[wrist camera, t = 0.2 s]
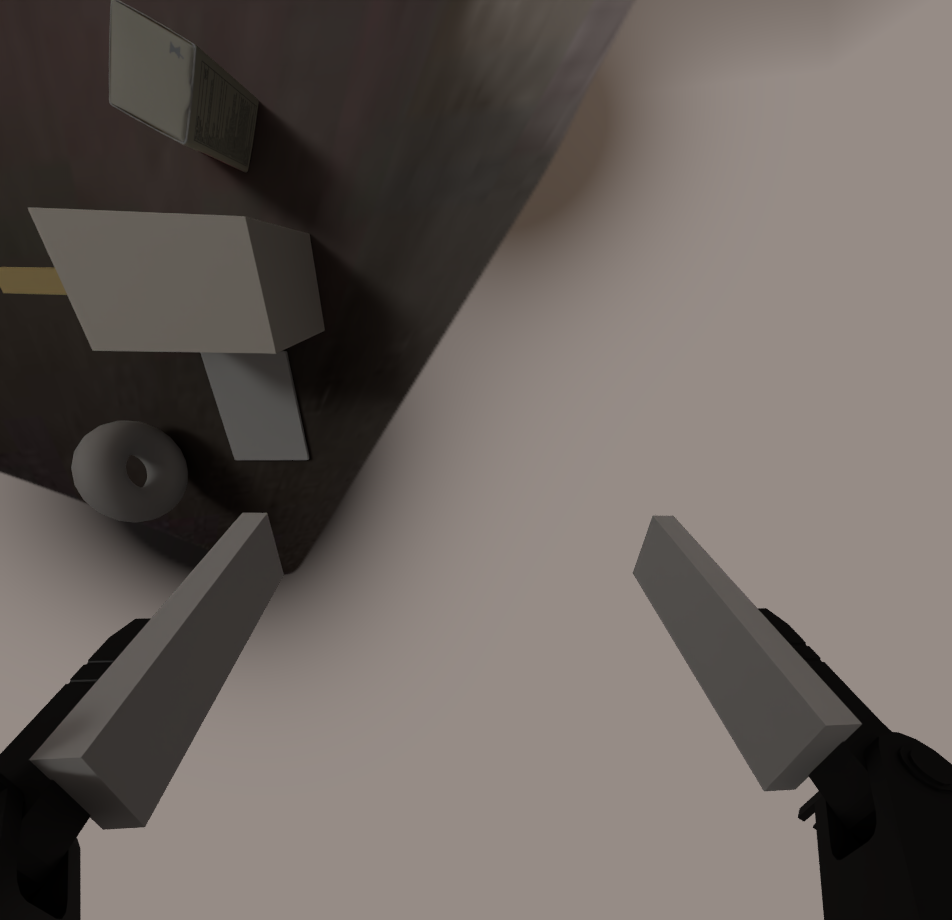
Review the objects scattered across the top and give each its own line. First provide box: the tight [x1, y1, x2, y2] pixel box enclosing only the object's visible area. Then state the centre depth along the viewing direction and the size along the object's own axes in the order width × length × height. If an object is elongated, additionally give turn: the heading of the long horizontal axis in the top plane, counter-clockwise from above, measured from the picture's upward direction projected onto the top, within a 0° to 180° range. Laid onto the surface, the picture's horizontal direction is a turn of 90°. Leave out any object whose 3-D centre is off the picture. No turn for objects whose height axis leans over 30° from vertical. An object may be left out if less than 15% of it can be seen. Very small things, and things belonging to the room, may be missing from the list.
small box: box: [109, 0, 259, 172], centre depth 24 cm, size 5×4×8 cm
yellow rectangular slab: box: [0, 267, 67, 295], centre depth 29 cm, size 2×11×8 cm, turn 89°
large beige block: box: [27, 207, 325, 354], centre depth 28 cm, size 8×13×11 cm, turn 88°
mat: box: [200, 351, 310, 460], centre depth 38 cm, size 12×8×1 cm, turn 178°
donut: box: [71, 421, 188, 522], centre depth 35 cm, size 10×3×10 cm, turn 10°
